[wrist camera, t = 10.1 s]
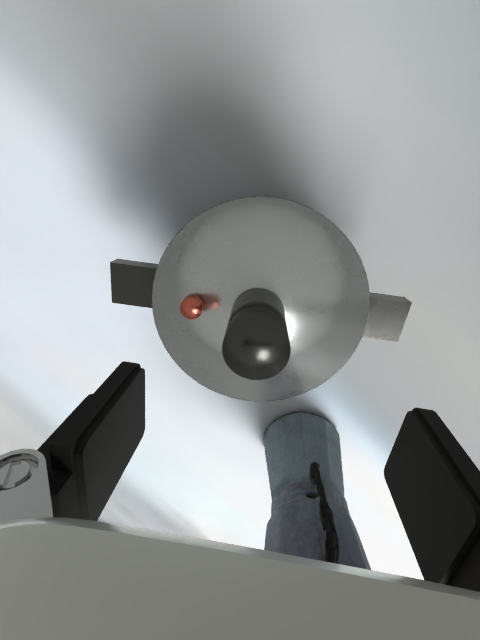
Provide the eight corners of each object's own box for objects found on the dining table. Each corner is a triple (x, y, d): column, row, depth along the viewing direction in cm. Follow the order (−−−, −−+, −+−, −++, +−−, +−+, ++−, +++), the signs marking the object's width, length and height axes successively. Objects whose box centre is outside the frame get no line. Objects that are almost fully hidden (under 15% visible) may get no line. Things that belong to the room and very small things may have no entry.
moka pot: (263, 484, 40) (262, 732, 22) (252, 384, 34) (239, 608, 16) (338, 483, 39) (405, 743, 21) (340, 380, 33) (435, 614, 15)
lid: (392, 213, 18) (453, 224, 12) (334, 403, 24) (358, 473, 18) (160, 182, 19) (111, 177, 13) (156, 377, 24) (120, 437, 18)
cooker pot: (389, 217, 27) (445, 228, 18) (350, 348, 32) (381, 404, 23) (150, 186, 27) (100, 184, 19) (149, 321, 32) (110, 366, 24)
